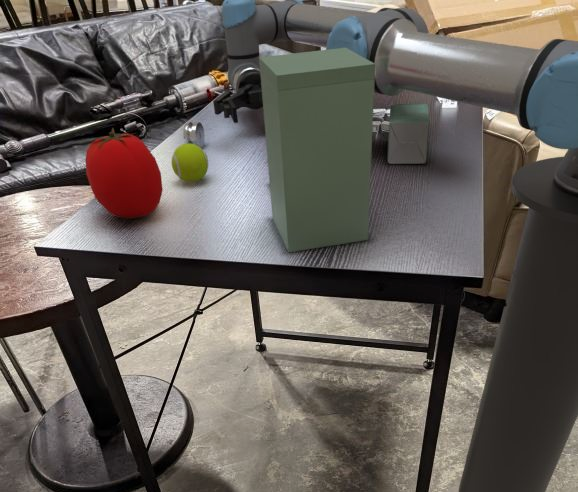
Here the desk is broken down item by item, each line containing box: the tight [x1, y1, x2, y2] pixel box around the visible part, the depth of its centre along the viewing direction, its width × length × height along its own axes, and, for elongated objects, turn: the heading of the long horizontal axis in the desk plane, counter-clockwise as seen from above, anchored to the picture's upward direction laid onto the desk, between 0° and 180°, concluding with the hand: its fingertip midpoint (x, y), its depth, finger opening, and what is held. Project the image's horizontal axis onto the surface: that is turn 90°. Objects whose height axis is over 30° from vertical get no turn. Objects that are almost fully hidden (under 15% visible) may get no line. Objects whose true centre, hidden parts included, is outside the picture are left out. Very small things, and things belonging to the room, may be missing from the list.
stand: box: [259, 48, 375, 253], centre depth 73 cm, size 12×12×22 cm
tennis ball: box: [171, 143, 209, 183], centre depth 97 cm, size 7×7×7 cm
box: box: [387, 103, 431, 165], centre depth 102 cm, size 7×14×8 cm, turn 171°
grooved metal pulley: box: [183, 121, 206, 149], centre depth 113 cm, size 5×3×5 cm, turn 166°
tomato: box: [85, 127, 164, 220], centre depth 85 cm, size 12×12×13 cm
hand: (269, 111), depth 103 cm, fingers open, 13 cm apart
